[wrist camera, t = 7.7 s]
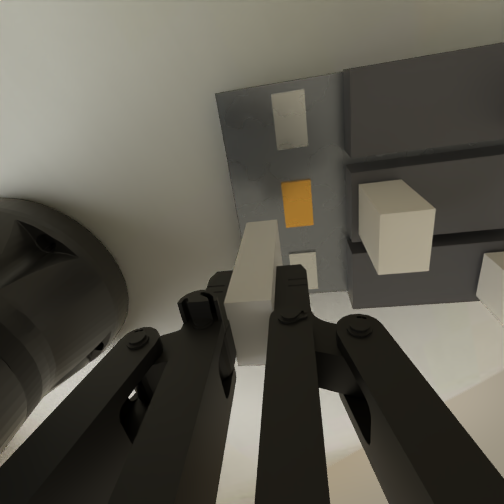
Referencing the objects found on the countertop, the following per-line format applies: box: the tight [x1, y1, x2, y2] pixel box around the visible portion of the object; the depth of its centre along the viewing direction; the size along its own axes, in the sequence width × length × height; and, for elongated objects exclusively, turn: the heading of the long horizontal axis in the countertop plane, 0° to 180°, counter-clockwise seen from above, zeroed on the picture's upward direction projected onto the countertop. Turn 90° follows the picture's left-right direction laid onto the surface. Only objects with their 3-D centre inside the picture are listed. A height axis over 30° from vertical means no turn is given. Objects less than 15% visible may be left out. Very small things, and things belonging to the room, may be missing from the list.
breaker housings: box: [343, 42, 504, 327], centre depth 17 cm, size 10×14×7 cm
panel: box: [215, 72, 504, 293], centre depth 20 cm, size 24×14×2 cm, turn 98°
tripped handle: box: [359, 179, 436, 275], centre depth 16 cm, size 2×3×4 cm
